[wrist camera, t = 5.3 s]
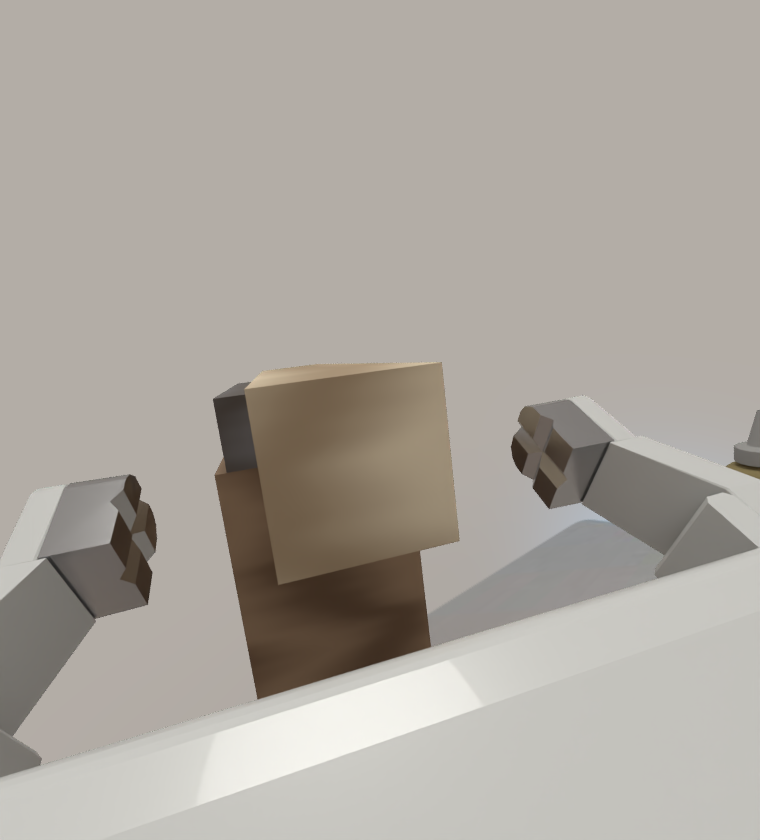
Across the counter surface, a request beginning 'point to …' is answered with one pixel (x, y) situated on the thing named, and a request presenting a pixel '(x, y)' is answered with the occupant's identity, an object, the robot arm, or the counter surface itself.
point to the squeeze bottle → (749, 452)
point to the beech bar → (352, 463)
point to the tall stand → (307, 585)
